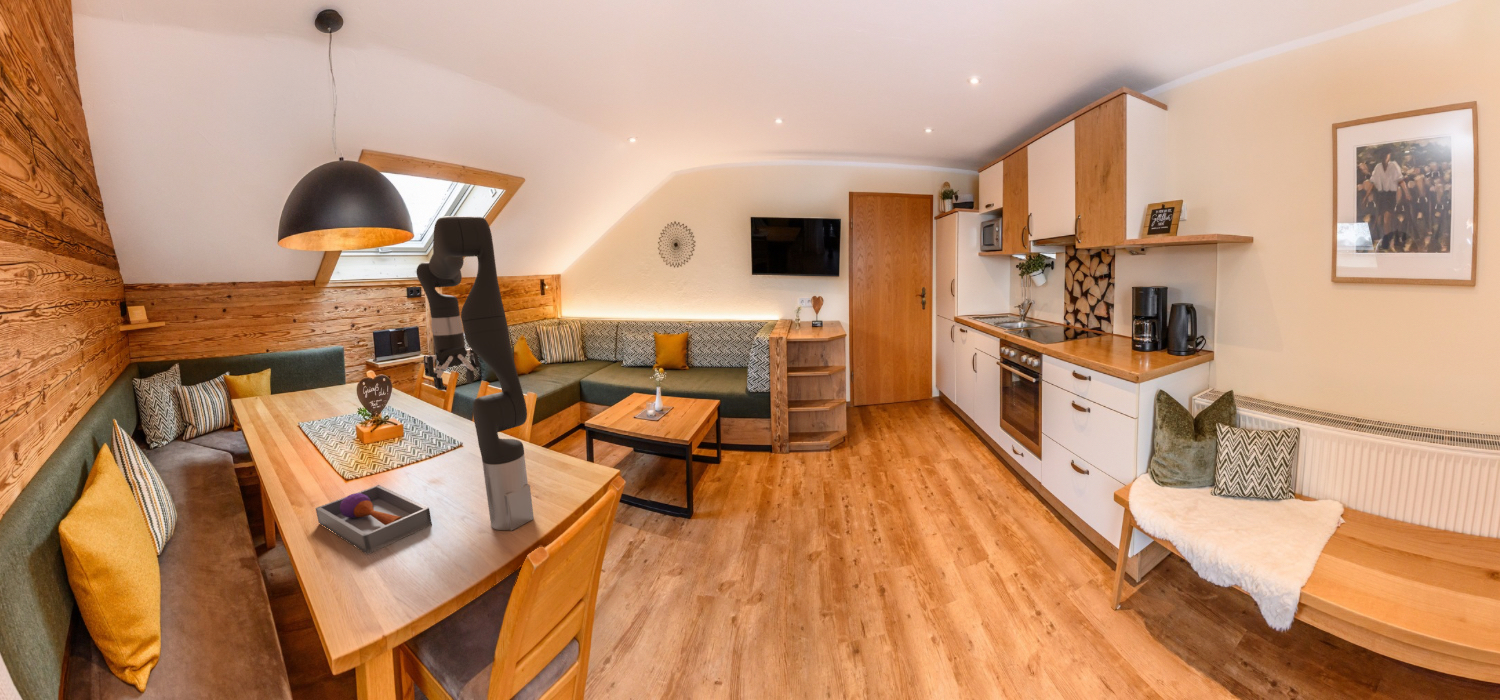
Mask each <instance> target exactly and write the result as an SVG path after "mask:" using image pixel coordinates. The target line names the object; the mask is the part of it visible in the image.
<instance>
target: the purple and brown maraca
mask: <svg viewBox="0 0 1500 700" xmlns="http://www.w3.org/2000/svg"><path fill="white" fill-rule="evenodd" d="M345 497H346V498H344V497H343V498H344V499H343V501H342V502H341V504H340V511H341V513H342V514H343V516H346V517H349V518H356V517H365V516H369V515H371V516H373V517H374V518H375V519H377V520H378V521H380V522H381V523H383V524H384V525H388V524H390V523H392V522H394V521H397V520H399V519H401V518H403V517H400V516H395V515H391V514H387V513H382V512H378V511H374V508H373V504H372V502H371V501H370V499H369V497H368V496H367V495H364V494H361V493H358V492H355V493H352V494H349V495H347V496H345Z"/></svg>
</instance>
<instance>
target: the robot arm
mask: <svg viewBox="0 0 1500 700" xmlns="http://www.w3.org/2000/svg"><path fill="white" fill-rule="evenodd" d="M491 230H492V229H491V227H490V225H489V223H488V221H487V220H486V219H485V218H484V217H482V216H475V215H474V216H471V215H470V216H469V215H467V216H466V215H461V216H459V215H454V216H453V215H447V216H441V217H439V218H438V219H437V220H436V221H435V223H434V227H433V240H432V241H433V247H432V250H433V251H432V255H431V257H430V260H429V261H424V262H420V264H418V266H417V267H416V272H415V273H416V276H417V279H418V281H419V283H420V286H421V287H422V289H423V291H424V293H425V296H426V298H427V302H428V306H429V312H430V319H431V333H432V339H433V345H434V350H435V354H434V355H432V354H431V355H427V354H426V355H423V365H424V366H423V367H424V375H425V377H429V378H433V383H434V388H435V389H437V390H438V391H443V390H444V389H445V388H444V381H443V377H442V376H443V374H444V372H445V371H447V369H448V368H453V367H458V366H462V367H463V368H464V369H465V378H466V382H467V384H473V383H474V381H475V374H474V371H475V369H477V368H480V365H481V364H480V360H479V358H480V359H481V360H482V361H483V362H484V363H485V364H487V366H489V367H490V369H491V371H492V372H493V373H494V374H495V375H496V378H497V379H498V382H499V385H500V387H501V392H497V393H496V392H494V393H491V394H487V395H482V396H479V397H477V398H475V400H474V401H473V402H472V403H473V404H472V417H473V422H474V427H475V432H476V436H477V437H476V438H477V442H478V448H479V452H480V455H481V462H482V469H483V476H484V478H483V479H484V484H485V491H486V492H485V493H486V497H487V498H486V499H487V500H486V501H487V507H488V511H489V513H488V514H489V521H490V527H491V528H493V529H494V530H497V531H506V530H507V531H508V530H509V531H514V530H516V529H518V528H520V527H521V526H524V525H525V524H527V523H528V522H530V521H533V520H534V519H535V518H534V516H535V515H534V510H533V501H532V493H531V491H532V490H531V485H530V484H529V482H528V474H527V465H526V458H525V447H524V444H523V442H522V441H520V440H518V439H515V438H501V437H500V436H499V433H500V432H504V431H507V430H510V429H514V428H518V427H520V426H522V425H524V424H525V423H526V421H527V418H528V410H527V404H526V399H525V395H524V392H523V389H522V385H521V381H520V378H519V375H518V371H517V367H516V364H515V360H514V354H513V350H512V349H513V348H512V345H511V339H510V337H511V336H510V333H509V326H508V321H507V317H506V312H505V308H504V304H503V300H502V294H501V290H500V286H499V281H498V274H497V267H496V259H495V258H496V257H495V249H494V243H493V235H492V231H491ZM467 257H469V258H471V257H472V258H473V257H476V258H477V263H478V264H477V272H476V277H475V280H474V283H473V285H472V287H471V289H470V291H469V293H468V295H467V297H466V299H465V301H464V303H463V306H462V309H461V312H460V306H459V300H458V298H457V296H454V295H449V294H442V293H440V292H438V291H437V290H436V288H444V287H445V288H446V287H447V288H450V287H452V288H453V287H456V286H459V285H460V284H461V282H462V280H463V279H462V276H463V275H462V271H461V270H462V268H463V265H464V258H467ZM465 341H466V343H467V346H468V348H467V349H466V347H465V346H466V343H465ZM466 356H468V357H469V360H470V362H469V361H468V360H467V359H466ZM435 361H437V364H436V365H435V366H434V363H436V362H435Z"/></svg>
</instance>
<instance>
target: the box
mask: <svg viewBox="0 0 1500 700" xmlns="http://www.w3.org/2000/svg"><path fill="white" fill-rule="evenodd" d="M357 493H361V494H364V495H367V496H368V497H369V499H370V501H371V502H372V504H373V508H374V511H378V512H382V513H387V514H391V515H395V516H400V517H403V518H401V519H399V520H397V521H394V522H392V523H390V524H388V525H384V524H383V523H381V522H380V521H378V520H377V519H375V518H374V517H373V516H371V515H369V516H365V517H356V518H349V517H346V516H343V514H342V513H341V511H340V504H341V502H342V501H343V499H344V498H346V497H347V496H344V497H342V498H339V499H336V500H333V501H331V502H328V503H325V504H322V505H320V506H317V507H315V511H316V516H317V517H316V518H317V521H318V524H319V523H320V524H321V525H323V526H325V527H326V528H328V529H330V530H331V531H333V532H334V533H336V534H337V535H339V536H340V537H342V538H343V539H342V538H341V539H342V540H344V539H345V540H347V541H348V542H350V543H351V544H350V543H349V544H350V545H352V544H353V545H355V546H356V547H357V548H356V547H355V546H354V547H355V548H356V549H358V548H359V549H358V550H360V551H361V550H362V551H361V552H363V553H365V554H366V555H369V554H372V553H374V552H376V551H378V550H380V549H382V548H385V547H386V546H389V545H391V544H393V543H395V542H397V541H399V540H401V539H404V538H405V537H407V536H409V535H413V534H414V533H416V532H419V531H420V530H421V531H422V530H423V529H424V528H425V529H426V528H427V527H430V526H431V525H432V517H431V511H430V507H427V506H426V505H424V504H421V503H419V502H417V501H415V500H413V499H410V498H408V497H406V496H404V495H402V494H399V493H397V492H395V491H393V490H391V489H389V488H387V487H385V486H382V485H380V484H377V485H374V486H372V487H369V488H367V489H364V490H361V491H359V492H357ZM321 525H320V526H321ZM323 526H322V527H323ZM326 528H325V529H326ZM331 531H330V532H331ZM334 533H333V534H334ZM337 535H336V536H337ZM339 536H338V537H339ZM340 537H339V538H340ZM345 540H344V541H345ZM347 541H346V542H347ZM348 542H347V543H348ZM353 545H352V546H353ZM375 550H376V551H375ZM373 551H374V552H373Z"/></svg>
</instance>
